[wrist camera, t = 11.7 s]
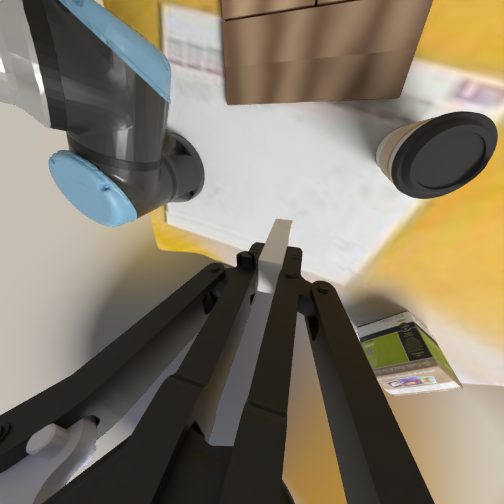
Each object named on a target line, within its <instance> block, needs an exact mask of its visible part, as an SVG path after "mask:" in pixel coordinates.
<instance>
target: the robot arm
mask: <svg viewBox="0 0 504 504" xmlns="http://www.w3.org/2000/svg"><path fill="white" fill-rule="evenodd" d="M170 84H171V68H170V64H169V62H168V60H167V58H166V56H165V55H164V53H163V52H162V51H161V50H160V49H158V48H157V47H156V46H155V45H153V44H152V43H151V42H149V41H148V40H147V39H145V38H144V37H143V36H141V35H140V34H139V33H137V32H136V31H135V30H133V29H132V28H131V27H129V26H128V25H127V24H125V23H124V22H123V21H121V20H120V19H119V18H117V17H116V16H115V15H113V14H112V13H110V12H109V11H108V10H106V9H105V8H104V7H102V6H101V5H100V4H98V3H97V2H95V1H94V0H0V102H4V103H9V104H13V105H16V106H18V107H20V108H22V109H24V110H25V111H26V112H28V113H29V114H30V115H31V116H33V117H34V118H35V119H36V120H38V121H39V122H40V123H41V124H43V125H44V126H45V127H48V128H53V129H59V130H64V131H66V133H67V139H68V144H69V150H68V151H67V150H60V151H58V152H57V153H54V154H53V155H52V157H50V159H49V169H50V172H51V175H52V177H53V179H54V181H55V183H56V184H57V186H58V187H59V189H60V190H61V192H62V193H63V194H64V195H65V197H66V198H67V199H68V200H69V201H70V202H71V203H72V204H73V205H74V206H75V207H76V208H77V209H78V210H79V211H81V212H82V213H83V214H84V215H86V216H87V217H89V218H90V219H92V220H94V221H96V222H98V223H100V224H102V225H106V226H112V227H115V226H120V225H123V224H125V223H128V222H131V221H135V220H136V219H137V218H139V217H141V216H143V215H145V214H147V213H149V212H151V211H153V210H155V209H157V208H158V207H160V206H162V205H164V204H166V203H168V202H186V201H189V200H191V199H193V198H194V197H196V196H197V195H198V194H199V193H200V192H201V190H202V188H203V185H204V168H203V164H202V161H201V159H200V157H199V155H198V153H197V151H196V150H195V149H194V147H193V146H192V145H191V144H190V143H189V142H188V141H187V140H186V139H184V138H183V137H181V136H179V135H176V134H172V133H165V132H166V124H167V117H168V109H169V104H170V103H171V100H170ZM291 229H292V221H291V220H282V219H276V220H275V222H274V225H273V227H272V229H271V232H270V234H269V236H268V239H267V241H266V243H259V242H256V243H254V244H253V245H252V246H251V248H250V250H249V251H244V252H240V253H238V254H237V255H236V256H237V266H236V267H235V268H225V267H224V265H223V264H221V263H211V264H209V265H207V266H206V267H205V268H204V269H202V270H201V271H200V272H199V273H197V274H196V275H195V276H194V277H193V278H191V279H190V280H189V281H187V282H186V283H185V284H184V285H183V286H181V287H180V288H179V289H178V290H176V291H175V292H174V293H173V294H171V295H170V296H169V297H168V298H167V299H165V300H164V301H163V302H161V303H160V304H159V305H158V306H157V307H155V308H154V309H153V310H152V311H150V312H149V313H148V314H147V315H145V316H144V317H143V318H142V319H140V320H139V321H138V322H137V323H136V324H134V325H133V326H132V327H131V328H129V329H128V330H127V331H126V332H124V333H123V334H122V335H121V336H119V337H118V338H117V339H116V340H115V341H113V342H112V343H111V344H110V345H108V346H107V347H106V348H105V349H103V350H102V351H101V352H100V353H98V354H97V355H96V356H95V357H93V358H92V359H91V360H90V361H88V362H87V363H86V364H85V365H84V366H82V367H81V368H80V369H79V370H77V371H76V372H75V373H74V374H72V375H71V376H69V377H67V378H66V379H64V380H62V381H60V382H59V383H57V384H55V385H53V386H52V387H50V388H48V389H46V390H44V391H43V392H41V393H39V394H37V395H36V396H34V397H32V398H30V399H29V400H27V401H25V402H23V403H22V404H20V405H18V406H16V407H15V408H13V409H11V410H9V411H7V412H5V413H4V414H2V415H0V504H295V503H294V500H293V498H292V496H291V494H290V492H289V490H288V488H287V487H286V485H285V483H284V482H283V480H282V472H283V462H284V451H285V440H286V430H287V407H288V396H289V386H290V377H291V367H292V357H293V347H294V337H295V327H296V317H297V312H299V313H301V314H303V315H304V317H305V322H306V326H307V330H308V335H309V339H310V344H311V348H312V352H313V357H314V361H315V365H316V369H317V374H318V378H319V382H320V387H321V391H322V396H323V400H324V404H325V409H326V413H327V417H328V422H329V426H330V430H331V435H332V439H333V444H334V448H335V452H336V457H337V461H338V465H339V470H340V474H341V478H342V482H343V487H344V491H345V496H346V500H347V504H435V503H434V501H433V499H432V497H431V495H430V492H429V490H428V488H427V486H426V484H425V482H424V480H423V478H422V475H421V473H420V471H419V469H418V467H417V464H416V462H415V460H414V458H413V456H412V454H411V451H410V449H409V447H408V445H407V443H406V441H405V439H404V436H403V434H402V432H401V430H400V428H399V426H398V423H397V421H396V419H395V417H394V415H393V413H392V410H391V408H390V406H389V405H388V402H387V400H386V397H385V395H384V393H383V391H382V389H381V387H380V385H379V382H378V380H377V378H376V376H375V374H374V372H373V369H372V367H371V365H370V363H369V361H368V359H367V356H366V354H365V352H364V350H363V348H362V346H361V344H360V341H359V339H358V337H357V335H356V333H355V331H354V328H353V326H352V324H351V322H350V320H349V318H348V316H347V313H346V311H345V309H344V307H343V305H342V303H341V300H340V298H339V296H338V294H337V292H336V290H335V288H334V287H333V285H331V284H330V283H328V282H325V281H315V282H313V283H310V282H308V281H306V280H305V279H304V278H303V277H302V276H301V262H302V250H301V249H300V248H297V247H290V246H289V244H290V237H291ZM257 287H258V291H261V292H266V293H271V294H274V296H273V300H272V304H271V308H270V312H269V316H268V321H267V324H266V328H265V332H264V336H263V340H262V344H261V348H260V352H259V356H258V360H257V364H256V368H255V372H254V376H253V380H252V384H251V388H250V392H249V396H248V399H247V401H246V403H245V405H244V408H243V412H242V415H241V419H240V423H239V427H238V431H237V434H236V438H235V442H234V446H212V445H209V444H208V441H209V438H210V435H211V432H212V429H213V426H214V421H215V416H216V410H217V407H218V404H219V400H220V398H221V395H222V392H223V389H224V386H225V383H226V381H227V378H228V375H229V372H230V369H231V366H232V363H233V361H234V358H235V355H236V352H237V349H238V346H239V343H240V340H241V337H242V334H243V332H244V329H245V326H246V323H247V320H248V317H249V315H250V312H251V309H252V306H253V303H254V300H255V297H256V290H257ZM200 329H201V330H200ZM199 330H200V332H199V334H198V335H197V338H196V339H195V341H194V343H193V344H192V346H191V348H190V350H189V351H188V353H187V355H186V357H185V358H184V360H183V362H182V364H181V365H180V367H179V369H178V370H177V372H176V373H175V374H173V375H171V376H169V377H168V378H167V379H165V381H164V382H163V383H162V385H161V386H160V388H159V389H158V391H157V393H156V394H155V396H154V398H153V400H152V401H151V403H150V405H149V406H148V408H147V409H146V411H145V413H144V415H143V416H142V418H141V420H140V421H139V423H138V425H137V426H136V428H135V430H134V431H133V433H132V435H131V436H129V437H128V438H127V439H126V440H124V441H123V442H121V443H120V444H119V445H117V446H116V447H115V448H114V449H112V450H111V451H110V452H108V453H107V454H106V455H104V456H103V457H102V458H101V459H100V460H98V461H97V462H95V463H94V464H93V465H91V466H90V467H89V468H87V469H86V470H85V471H83V472H82V473H81V474H80V475H78V476H77V477H76V478H74V479H73V480H72V481H71V482H69V483H68V484H67V485H66V483H67V482H68V480H69V479H70V478H71V477H72V476H73V474H74V473H75V472H76V471H77V470H78V469H79V468H81V467H84V466H85V465H86V464H87V463H89V461H90V460H91V459H92V458H93V456H94V453H95V451H96V445H95V443H96V440H97V439H99V438H100V437H101V436H102V435H104V434H105V433H106V432H107V431H108V430H109V429H110V428H112V427H113V426H114V425H115V424H116V423H117V422H118V421H119V420H120V419H121V418H122V417H123V416H124V415H125V414H126V413H127V412H128V411H129V410H130V408H132V406H133V405H134V404H135V403H136V402H137V401H138V400H139V399H140V397H141V396H142V395H143V394H144V393H145V392H146V391H147V390H148V388H149V387H150V386H151V385H152V384H153V383H154V382H155V380H156V379H157V378H158V377H159V376H160V375H161V374H162V372H163V371H164V370H165V369H166V368H167V367H168V366H169V364H170V363H171V362H172V361H173V360H174V359H175V358H176V356H177V355H178V354H179V353H180V352H181V351H182V350H183V348H184V347H185V346H186V345H187V344H188V343H189V342H190V341H191V339H192V338H193V337H194V336H195V335H196V334H197V333H198V331H199Z"/></svg>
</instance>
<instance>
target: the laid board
mask: <svg viewBox="0 0 504 504" xmlns="http://www.w3.org/2000/svg"><path fill="white" fill-rule="evenodd" d="M432 2H433V0H359V1H353V2H346V3H340V4H334V5H327V6H321V7H315V8H308V9H302V10H296V11H289V12H283V13H277V14H270V15H264V16H258V17H251V18H245V19H239V20H232V21H226V22H222V30H223V45H224V61H225V76H226V92H227V105H248V104H272V103H296V102H320V101H344V100H368V99H392V98H399V97H400V95H401V92H402V89H403V86H404V83H405V80H406V77H407V74H408V72H409V69H410V66H411V63H412V60H413V57H414V54H415V51H416V48H417V46H418V43H419V40H420V37H421V34H422V31H423V28H424V25H425V22H426V19H427V17H428V14H429V11H430V8H431V5H432Z"/></svg>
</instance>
